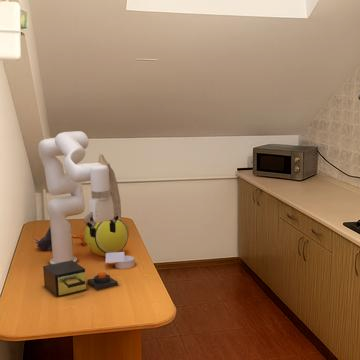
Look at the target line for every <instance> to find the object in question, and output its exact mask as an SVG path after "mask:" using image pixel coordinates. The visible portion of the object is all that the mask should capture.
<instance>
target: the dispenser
mask: <svg viewBox="0 0 360 360" xmlns="http://www.w3.org/2000/svg"><path fill="white" fill-rule="evenodd" d="M42 272H43V285H44V288H45V289H47V290H48V291H49V292H50V293H51V294H53V295H54V296H55V297H60V296H65V295H69V294H74V293H78V292H82V291H86V290H87V288H86V289H84V290H80V291H76V292H72V293H67V294H63V295H58V283H57V277H58V276H62V275H67V274H71V273H76V272H85V273H86V268H84V267H83V266H82V265H80V264H79V263H77V262H74V261H72V260H71V261H66V262H61V263H56V264H46V265H43V266H42Z"/></svg>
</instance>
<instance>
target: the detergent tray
mask: <svg viewBox="0 0 360 360" xmlns="http://www.w3.org/2000/svg"><path fill="white" fill-rule="evenodd" d="M86 275H87V274H86V271H85V272H76V273H71V274H67V275H62V276H58V277H57V283H58V295H61V296H64V295H63V294H66V295H68V294H67V293H70V294H73V293H72V292H74V293H77V292H76V291H78V292H81V291H80V290H82V291H85V290H84V289H86V290H87V276H86Z"/></svg>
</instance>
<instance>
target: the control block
mask: <svg viewBox="0 0 360 360" xmlns="http://www.w3.org/2000/svg"><path fill="white" fill-rule="evenodd" d="M86 284H88V285H89V286H91V287H92V288H93V289H95V290H96V291H102V290H105V289H110V288H114V287H118V286H119V281H117V280H115V279H114V278H112V277H111V275H110V274H107V273H106V278H98V274H96V275H94V277H92V278H88V279H86Z"/></svg>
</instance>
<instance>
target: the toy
mask: <svg viewBox="0 0 360 360" xmlns="http://www.w3.org/2000/svg"><path fill="white" fill-rule="evenodd" d="M110 223H111V222H110V221H105V222H100V223H96V225H95V227H94V228H95V229H96V237H95V238H94V237H91V236H90V228H89V227H88V226H87V225H86V227H85V229H86V230H85V229H84V230H85V233H84V240H85V244H86V245H87V246H86V247H88V249H89V250H90V251H91V252H92V253H93V254H95V255H97V256H99V257H105V258H106V253H114V252H122V251H123V249H124V248H125V247H126V246H127V243H128V241H129V235H130V232H129V228H128V226H127V223H125V222H124V221H123V220H122V219H121V220H120V219H119V218H118V220H117V222H116V223H115V226H116V230H115V231H116V232H115V233H113V232H110Z"/></svg>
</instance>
